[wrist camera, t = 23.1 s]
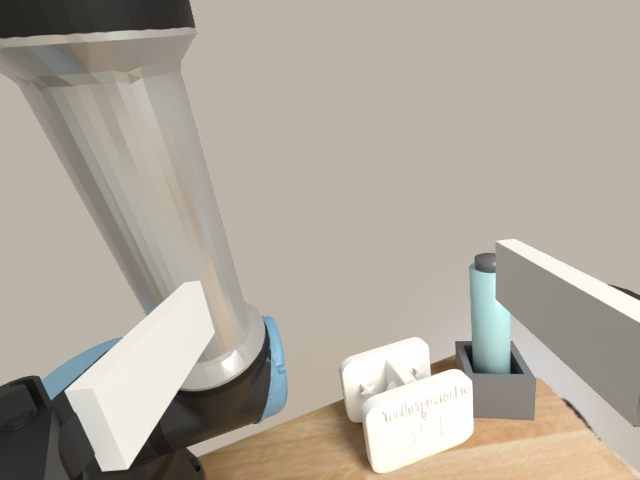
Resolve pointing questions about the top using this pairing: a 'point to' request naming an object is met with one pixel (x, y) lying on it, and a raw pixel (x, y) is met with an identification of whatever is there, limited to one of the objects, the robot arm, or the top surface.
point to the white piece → (405, 403)
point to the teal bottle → (488, 319)
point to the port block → (499, 386)
